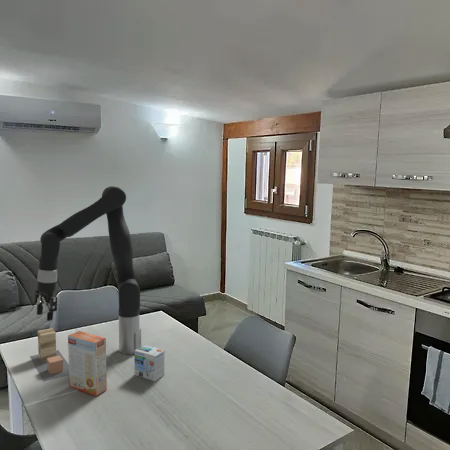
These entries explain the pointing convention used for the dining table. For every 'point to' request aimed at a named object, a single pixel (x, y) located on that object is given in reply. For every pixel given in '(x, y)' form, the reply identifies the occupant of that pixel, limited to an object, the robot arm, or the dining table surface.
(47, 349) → the tower base
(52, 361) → the terracotta cube
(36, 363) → the rubber mat
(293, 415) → the dining table surface
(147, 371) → the light bulb box
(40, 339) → the tower mid
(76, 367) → the cracker box
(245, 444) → the dining table surface
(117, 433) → the dining table surface
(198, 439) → the dining table surface
